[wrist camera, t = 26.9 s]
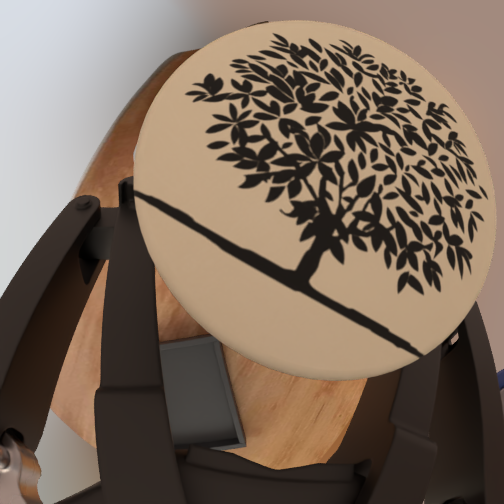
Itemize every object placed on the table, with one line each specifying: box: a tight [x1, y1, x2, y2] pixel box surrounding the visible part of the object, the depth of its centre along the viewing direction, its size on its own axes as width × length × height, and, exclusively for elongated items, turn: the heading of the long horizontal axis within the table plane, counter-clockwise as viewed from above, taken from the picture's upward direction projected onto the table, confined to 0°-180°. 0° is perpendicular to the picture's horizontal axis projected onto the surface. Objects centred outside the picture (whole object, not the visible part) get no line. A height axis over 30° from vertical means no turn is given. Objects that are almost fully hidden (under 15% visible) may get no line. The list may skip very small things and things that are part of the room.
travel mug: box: [134, 20, 496, 381], centre depth 13 cm, size 8×8×18 cm
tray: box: [159, 334, 246, 451], centre depth 36 cm, size 18×14×2 cm
